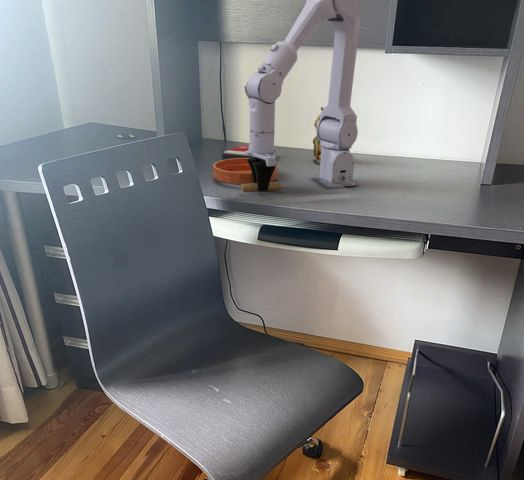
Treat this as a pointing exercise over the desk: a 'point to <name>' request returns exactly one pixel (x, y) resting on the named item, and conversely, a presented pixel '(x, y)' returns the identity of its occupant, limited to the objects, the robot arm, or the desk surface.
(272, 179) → the bowl
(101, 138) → the desk surface
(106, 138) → the desk surface
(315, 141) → the decorative figurine
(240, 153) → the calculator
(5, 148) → the desk surface
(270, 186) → the cylinder
